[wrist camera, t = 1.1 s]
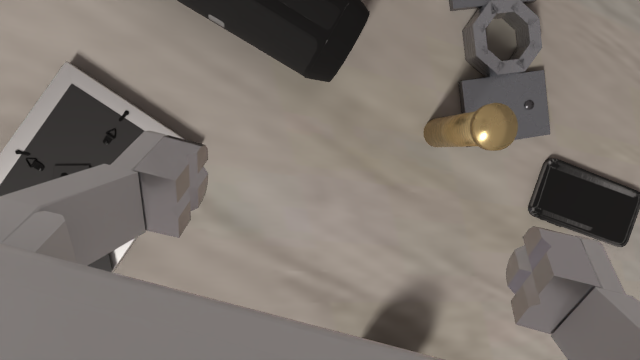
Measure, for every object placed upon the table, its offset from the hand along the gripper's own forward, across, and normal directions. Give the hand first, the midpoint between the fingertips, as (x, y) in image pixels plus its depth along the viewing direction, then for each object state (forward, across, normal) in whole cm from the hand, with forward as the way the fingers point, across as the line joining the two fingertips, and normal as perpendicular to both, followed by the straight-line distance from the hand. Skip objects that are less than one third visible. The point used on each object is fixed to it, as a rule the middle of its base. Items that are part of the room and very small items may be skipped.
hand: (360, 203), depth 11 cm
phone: (+41, -31, +25) cm, 57 cm away
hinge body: (+47, -14, +9) cm, 50 cm away
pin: (+39, -10, +19) cm, 44 cm away
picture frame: (+24, +28, +27) cm, 45 cm away
